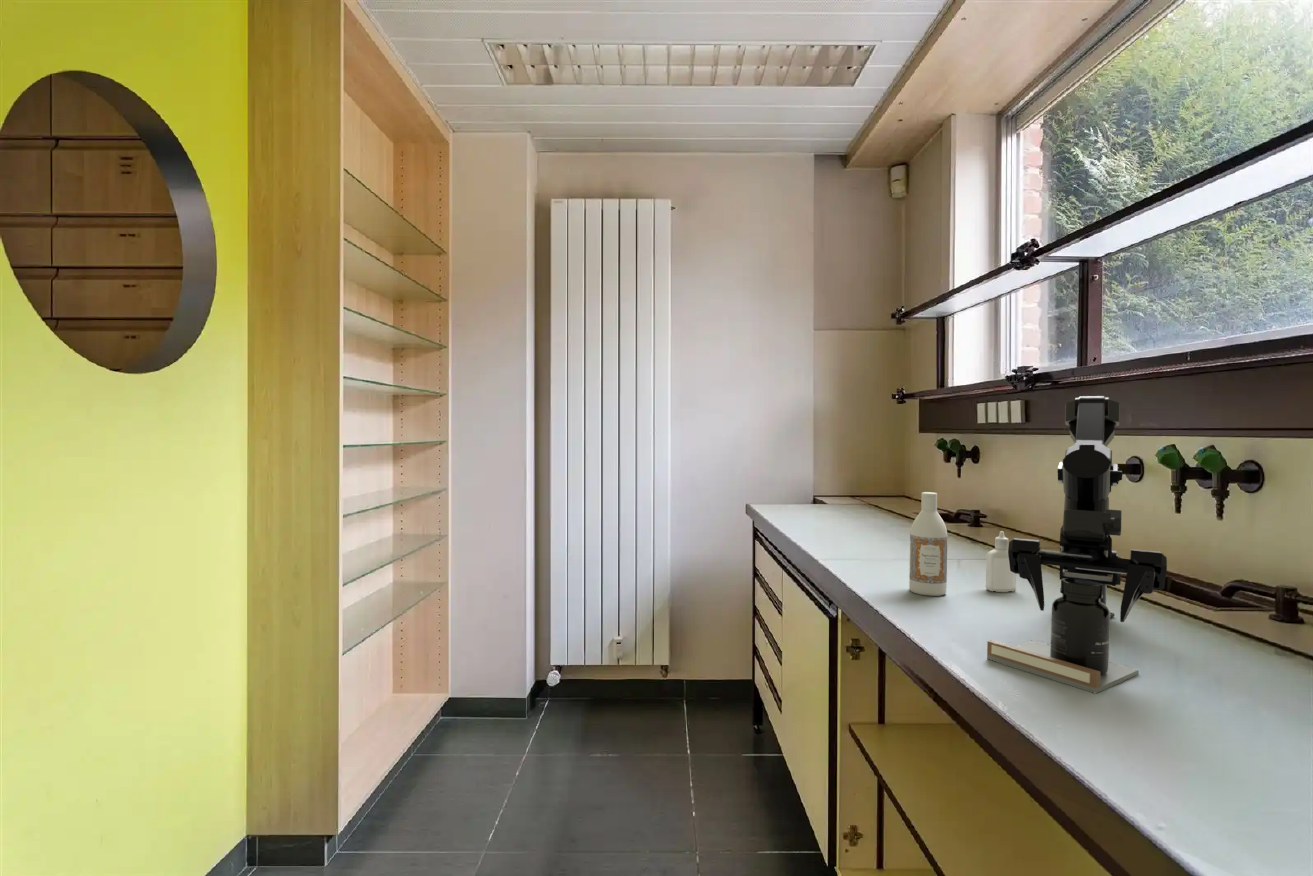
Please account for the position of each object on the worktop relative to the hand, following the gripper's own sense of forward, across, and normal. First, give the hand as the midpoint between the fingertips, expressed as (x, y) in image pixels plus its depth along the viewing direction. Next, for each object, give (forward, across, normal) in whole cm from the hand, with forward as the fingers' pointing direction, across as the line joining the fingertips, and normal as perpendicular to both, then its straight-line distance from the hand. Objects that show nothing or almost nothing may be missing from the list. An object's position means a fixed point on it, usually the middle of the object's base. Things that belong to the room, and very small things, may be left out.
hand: (1080, 614), depth 91 cm
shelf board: (+4, -2, +8) cm, 9 cm away
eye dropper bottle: (-26, -15, +38) cm, 48 cm away
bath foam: (-18, -27, +31) cm, 45 cm away
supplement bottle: (+5, 0, +7) cm, 8 cm away
